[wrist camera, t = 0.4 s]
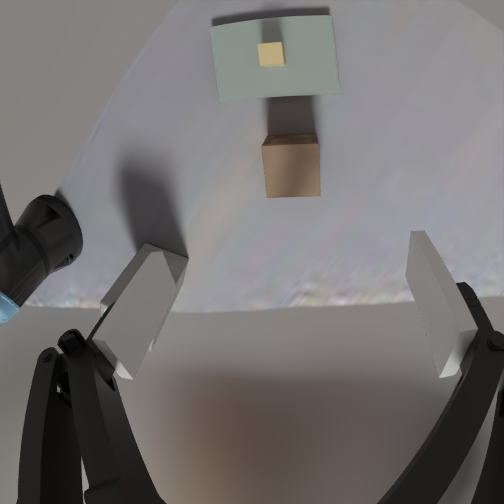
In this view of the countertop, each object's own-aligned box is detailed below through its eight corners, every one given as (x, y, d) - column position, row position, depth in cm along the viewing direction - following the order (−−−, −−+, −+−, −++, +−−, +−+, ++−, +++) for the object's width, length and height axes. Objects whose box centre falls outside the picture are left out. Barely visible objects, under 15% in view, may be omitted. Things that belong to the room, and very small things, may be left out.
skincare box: (142, 268, 51) (98, 332, 38) (146, 237, 47) (95, 301, 34) (185, 286, 51) (150, 356, 38) (193, 255, 47) (154, 328, 34)
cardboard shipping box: (272, 180, 38) (267, 197, 33) (267, 135, 35) (261, 146, 30) (318, 178, 37) (320, 196, 32) (316, 133, 34) (318, 143, 29)
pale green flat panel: (223, 101, 33) (210, 106, 29) (212, 29, 28) (198, 22, 23) (338, 94, 31) (344, 96, 26) (329, 17, 25) (334, 7, 21)
